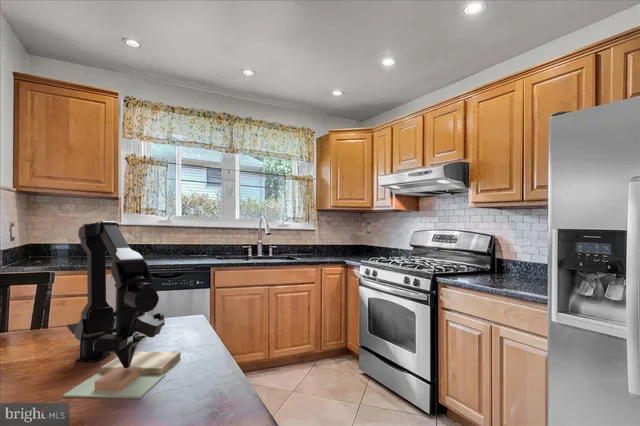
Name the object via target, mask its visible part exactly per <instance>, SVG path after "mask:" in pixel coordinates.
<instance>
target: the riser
mask: <svg viewBox="0 0 640 426" xmlns="http://www.w3.org/2000/svg"><path fill="white" fill-rule="evenodd" d="M180 360H181V351H138V350H137V351H136V350H135V352H134V355H133V358H132V361H131V364H130V367H141V375H165V373H166V372H168V371H169V370H170V369H171V368H172V367H174V365H176V363H178V362H179V361H180ZM119 366H121V367H123V365H122V364H121V362H120V360H119V358H118V356H117V357H115V358H114V359H113V360H110V361H109V362H107V363H106V364H104V365H102V366H101V367H100V374H107V373H109V372H111V371H112V370H114V369H115V368H117V367H119Z"/></svg>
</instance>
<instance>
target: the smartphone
mask: <svg viewBox="0 0 640 426" xmlns="http://www.w3.org/2000/svg"><path fill="white" fill-rule="evenodd" d="M78 323H79V322H75V323H70V324H67V325H66V327H67V328H68V327H69V328H68V329H69V330H70V332H71V333H72V334H73V335H75V329H76V327H77V325H78Z"/></svg>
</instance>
